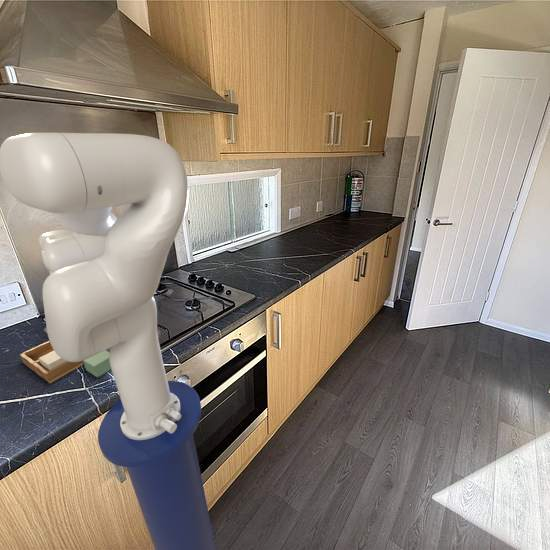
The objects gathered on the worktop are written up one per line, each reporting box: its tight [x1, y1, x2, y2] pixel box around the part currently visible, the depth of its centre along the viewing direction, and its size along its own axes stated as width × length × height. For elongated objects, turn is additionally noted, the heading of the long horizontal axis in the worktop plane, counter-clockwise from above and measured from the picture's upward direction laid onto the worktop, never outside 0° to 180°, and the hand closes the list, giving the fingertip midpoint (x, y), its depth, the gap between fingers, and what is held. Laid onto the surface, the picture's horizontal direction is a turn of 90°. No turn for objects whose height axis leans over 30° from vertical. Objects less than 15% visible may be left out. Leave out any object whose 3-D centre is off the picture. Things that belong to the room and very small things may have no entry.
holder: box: [19, 340, 84, 384], centre depth 82 cm, size 16×8×3 cm, turn 59°
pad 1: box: [39, 351, 66, 371], centre depth 80 cm, size 6×6×4 cm
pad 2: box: [82, 349, 111, 378], centre depth 80 cm, size 6×6×4 cm
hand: (92, 340), depth 77 cm, fingers open, 9 cm apart
